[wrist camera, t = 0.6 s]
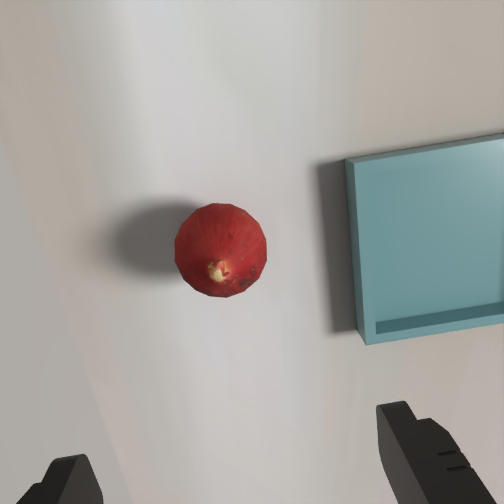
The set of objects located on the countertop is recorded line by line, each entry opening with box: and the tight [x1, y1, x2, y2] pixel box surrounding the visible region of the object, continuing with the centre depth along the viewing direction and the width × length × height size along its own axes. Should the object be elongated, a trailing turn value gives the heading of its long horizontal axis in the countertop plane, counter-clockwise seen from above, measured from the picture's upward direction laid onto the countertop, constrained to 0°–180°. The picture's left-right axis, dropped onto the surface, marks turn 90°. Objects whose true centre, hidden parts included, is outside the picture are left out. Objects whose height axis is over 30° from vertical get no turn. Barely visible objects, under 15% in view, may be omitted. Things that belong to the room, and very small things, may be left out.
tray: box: [345, 133, 504, 345], centre depth 29 cm, size 14×14×2 cm
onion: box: [175, 203, 267, 298], centre depth 25 cm, size 6×6×8 cm
